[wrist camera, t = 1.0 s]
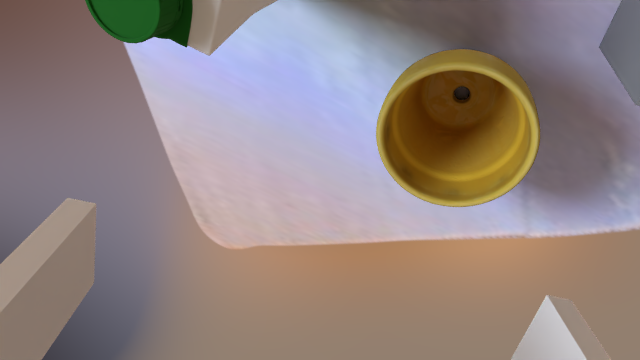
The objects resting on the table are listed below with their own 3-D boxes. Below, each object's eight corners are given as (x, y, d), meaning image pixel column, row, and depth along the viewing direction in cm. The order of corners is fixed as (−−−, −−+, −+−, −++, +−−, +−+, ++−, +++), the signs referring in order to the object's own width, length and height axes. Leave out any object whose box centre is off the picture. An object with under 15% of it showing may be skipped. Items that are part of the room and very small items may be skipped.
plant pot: (562, 78, 37) (581, 134, 29) (468, 168, 43) (462, 234, 35) (454, -5, 36) (442, 27, 28) (373, 97, 42) (345, 148, 34)
